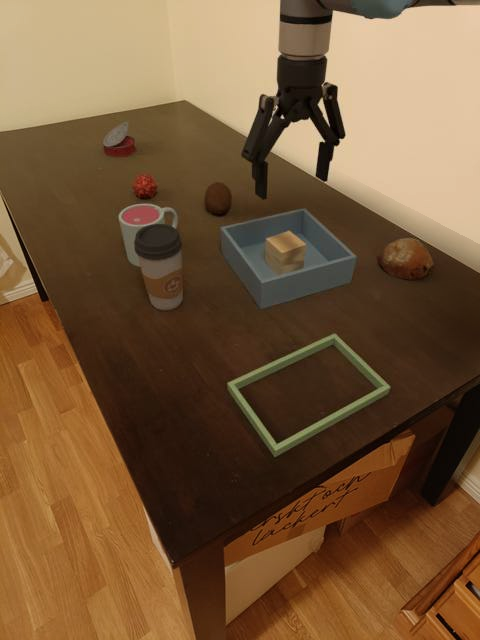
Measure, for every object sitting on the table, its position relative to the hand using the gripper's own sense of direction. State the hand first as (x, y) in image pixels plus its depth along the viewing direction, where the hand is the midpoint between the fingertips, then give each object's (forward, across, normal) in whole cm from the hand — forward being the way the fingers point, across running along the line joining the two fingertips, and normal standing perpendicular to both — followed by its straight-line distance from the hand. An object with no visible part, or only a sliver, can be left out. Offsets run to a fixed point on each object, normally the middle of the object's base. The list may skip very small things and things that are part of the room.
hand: (291, 187), depth 79 cm
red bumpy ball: (+18, +14, -45) cm, 51 cm away
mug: (+18, +21, -20) cm, 35 cm away
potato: (+18, 0, -30) cm, 35 cm away
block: (+18, 0, -1) cm, 18 cm away
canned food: (+18, +10, -78) cm, 80 cm away
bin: (+18, 0, -1) cm, 18 cm away
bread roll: (+19, -22, +13) cm, 32 cm away
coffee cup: (+18, +26, -3) cm, 32 cm away
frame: (+19, +16, +28) cm, 37 cm away
